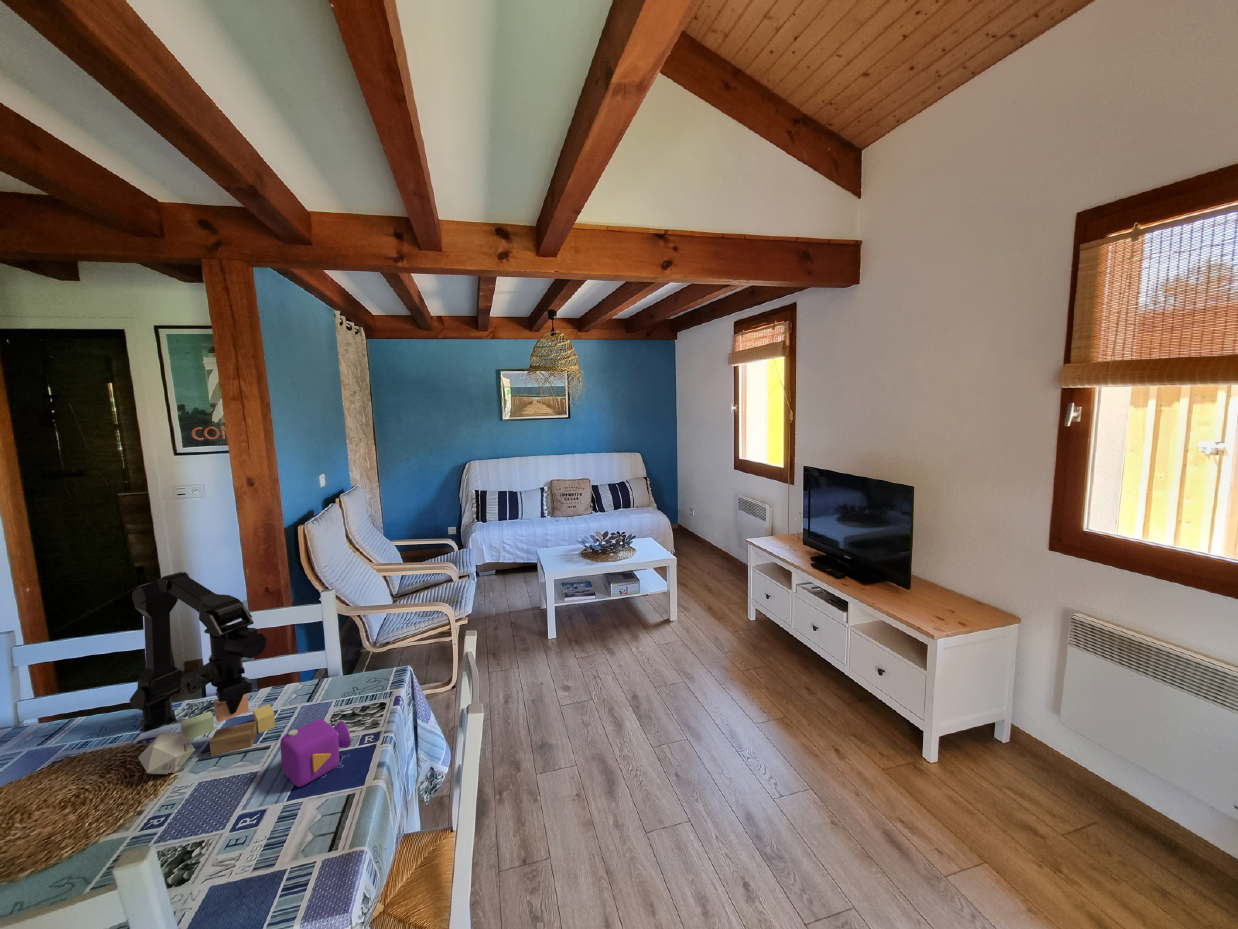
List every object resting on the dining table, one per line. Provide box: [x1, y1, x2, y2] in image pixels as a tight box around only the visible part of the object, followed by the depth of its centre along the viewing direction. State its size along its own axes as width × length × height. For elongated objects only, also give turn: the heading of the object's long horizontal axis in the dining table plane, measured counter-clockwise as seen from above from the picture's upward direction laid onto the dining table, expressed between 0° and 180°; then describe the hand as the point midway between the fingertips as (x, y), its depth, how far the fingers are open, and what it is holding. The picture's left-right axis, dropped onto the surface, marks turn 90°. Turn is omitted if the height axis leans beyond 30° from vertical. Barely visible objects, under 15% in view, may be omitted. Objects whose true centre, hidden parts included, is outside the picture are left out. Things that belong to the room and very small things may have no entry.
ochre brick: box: [252, 703, 276, 734], centre depth 127 cm, size 4×6×4 cm, turn 46°
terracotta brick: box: [213, 694, 250, 723], centre depth 119 cm, size 4×6×4 cm, turn 138°
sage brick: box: [179, 710, 215, 741], centre depth 124 cm, size 4×6×4 cm, turn 139°
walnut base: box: [209, 720, 258, 757], centre depth 119 cm, size 5×8×4 cm, turn 115°
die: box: [138, 732, 196, 775], centre depth 111 cm, size 8×9×10 cm
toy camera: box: [279, 718, 351, 788], centre depth 112 cm, size 11×14×10 cm
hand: (231, 710), depth 119 cm, fingers closed on terracotta brick, 4 cm apart
